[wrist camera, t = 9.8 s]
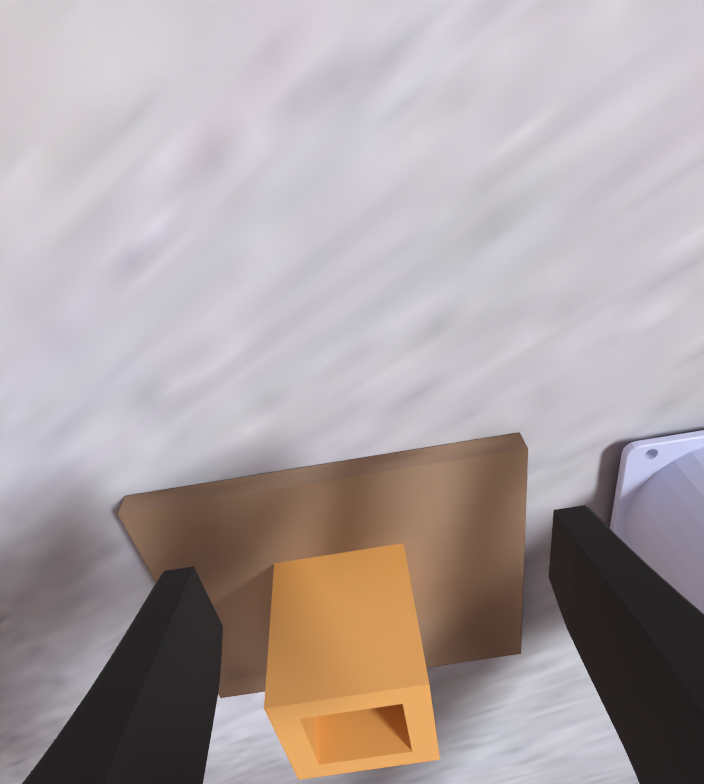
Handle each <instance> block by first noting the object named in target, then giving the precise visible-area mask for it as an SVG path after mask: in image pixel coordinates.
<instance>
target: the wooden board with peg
mask: <svg viewBox="0 0 704 784" xmlns="http://www.w3.org/2000/svg"><path fill="white" fill-rule="evenodd" d="M527 463H528V448H527V446H526V444H525V442H524V440H523V438H522V436H521V434H520V433H514V434H508V435H502V436H495V437H489V438H483V439H477V440H471V441H464V442H458V443H452V444H446V445H439V446H433V447H427V448H421V449H415V450H408V451H402V452H396V453H390V454H383V455H377V456H371V457H365V458H359V459H352V460H346V461H340V462H334V463H327V464H321V465H315V466H309V467H302V468H296V469H290V470H284V471H278V472H271V473H265V474H259V475H253V476H246V477H240V478H234V479H228V480H222V481H215V482H209V483H203V484H197V485H190V486H184V487H178V488H172V489H166V490H159V491H153V492H147V493H141V494H134V495H128V496H125V497H124V500H123V502H122V505H121V507H120V510H119V512H118V516H119V518H120V519H121V521H122V523H123V525H124V526H125V528H126V530H127V532H128V534H129V535H130V537H131V539H132V541H133V543H134V544H135V546H136V548H137V550H138V551H139V553H140V555H141V557H142V559H143V560H144V562H145V564H146V566H147V567H148V569H149V571H150V573H151V575H152V576H153V578H154V580H155V582H157V581H158V579H159V577H160V576H161V574H162V573H163V572H164V571H167V570H173V569H179V568H186V567H192V566H194V568H195V570H196V572H197V574H198V576H199V578H200V580H201V582H202V584H203V586H204V588H205V590H206V592H207V594H208V596H209V598H210V601H211V603H212V605H213V607H214V609H215V611H216V613H217V615H218V617H219V619H220V621H221V623H222V625H223V638H222V659H221V674H220V684H219V690H218V694H219V696H220V698H224V697H231V696H238V695H244V694H251V693H258V692H265V688H266V673H267V659H268V644H269V630H270V616H271V601H272V587H273V572H274V563H280V562H287V561H293V560H299V559H306V558H312V557H319V556H325V555H331V554H338V553H344V552H351V551H357V550H364V549H370V548H376V547H383V546H389V545H396V544H402V543H404V549H405V554H406V560H407V565H408V570H409V576H410V581H411V587H412V592H413V598H414V603H415V609H416V614H417V619H418V625H419V630H420V636H421V641H422V647H423V652H424V658H425V663H426V668H427V667H433V666H440V665H447V664H454V663H461V662H467V661H474V660H481V659H488V658H494V657H501V656H508V655H515V654H521V636H522V607H523V578H524V549H525V521H526V492H527Z"/></svg>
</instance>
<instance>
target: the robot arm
mask: <svg viewBox="0 0 704 784" xmlns="http://www.w3.org/2000/svg"><path fill="white" fill-rule="evenodd" d="M651 449H652V450H651ZM649 450H650V451H649ZM647 451H649V452H647ZM646 452H647V453H646ZM549 579H550V582H551V585H552V588H553V591H554V593H555V596H556V599H557V602H558V605H559V608H560V611H561V613H562V616H563V619H564V622H565V624H566V627H567V629H568V631H569V634H570V636H571V638H572V640H573V642H574V644H575V646H576V648H577V651H578V653H579V655H580V657H581V659H582V661H583V663H584V665H585V667H586V669H587V671H588V674H589V676H590V678H591V680H592V682H593V684H594V686H595V688H596V690H597V692H598V694H599V696H600V698H601V700H602V702H603V705H604V707H605V709H606V711H607V713H608V715H609V717H610V719H611V721H612V723H613V725H614V727H615V729H616V731H617V734H618V736H619V738H620V740H621V742H622V744H623V746H624V748H625V751H626V753H627V755H628V757H629V760H630V762H631V764H632V766H633V769H634V771H635V773H636V776H637V778H638V781H639V783H640V784H704V430H702V431H696V432H690V433H683V434H677V435H671V436H665V437H658V438H652V439H646V440H639V441H634V442H631V443H629V444H628V445H626V446H625V448H624V449H623V451H622V455H621V461H620V467H619V473H618V480H617V486H616V492H615V498H614V504H613V511H612V517H611V523H610V528H609V527H608V526H607V525H606V524H605V523H604V522H603V521H602V520H601V519H600V518H599V517H598V516H597V515H596V514H595V513H594V512H593V511H592V510H591V509H590V508H588V507H587V506H585V505H584V506H577V507H571V508H564V509H558V510H554V514H553V527H552V540H551V554H550V567H549ZM222 638H223V625H222V623H221V621H220V619H219V617H218V615H217V613H216V611H215V609H214V607H213V605H212V603H211V601H210V598H209V596H208V594H207V592H206V590H205V588H204V586H203V584H202V582H201V580H200V578H199V576H198V574H197V572H196V570H195V568H194V566H192V567H186V568H179V569H173V570H167V571H164V572H163V573H162V574H161V576H160V577H159V579H158V581H157V582H156V584H155V586H154V587H153V589H152V591H151V592H150V594H149V596H148V597H147V599H146V601H145V602H144V604H143V606H142V607H141V609H140V611H139V612H138V614H137V616H136V617H135V619H134V621H133V622H132V624H131V625H130V627H129V629H128V630H127V632H126V634H125V635H124V637H123V639H122V640H121V642H120V643H119V645H118V647H117V648H116V650H115V651H114V653H113V654H112V656H111V657H110V659H109V661H108V662H107V664H106V665H105V667H104V668H103V670H102V672H101V673H100V675H99V676H98V678H97V679H96V681H95V682H94V684H93V685H92V687H91V689H90V690H89V692H88V693H87V694H86V696H85V697H84V699H83V700H82V702H81V703H80V705H79V706H78V707H77V709H76V710H75V712H74V713H73V715H72V716H71V718H70V719H69V720H68V722H67V723H66V725H65V726H64V728H63V729H62V731H61V732H60V733H59V735H58V736H57V738H56V739H55V740H54V742H53V743H52V745H51V746H50V747H49V749H48V750H47V751H46V753H45V754H44V755H43V757H42V758H41V760H40V761H39V762H38V764H37V765H36V766H35V767H34V769H33V770H32V771H31V773H30V774H29V775H28V777H27V778H26V779H25V781H24V782H23V783H22V784H203V779H204V773H205V767H206V761H207V755H208V750H209V744H210V738H211V732H212V726H213V720H214V714H215V708H216V702H217V696H218V690H219V684H220V674H221V659H222Z"/></svg>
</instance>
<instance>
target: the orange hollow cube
mask: <svg viewBox="0 0 704 784" xmlns="http://www.w3.org/2000/svg"><path fill="white" fill-rule="evenodd" d="M264 709H265V712H266V714H267V716H268V718H269V720H270V722H271V724H272V726H273V728H274V730H275V732H276V734H277V736H278V738H279V740H280V742H281V744H282V747H283V749H284V751H285V753H286V755H287V757H288V759H289V761H290V763H291V765H292V767H293V769H294V771H295V773H296V775H297V777H298V779H299V780H301V779H308V778H315V777H322V776H329V775H336V774H343V773H350V772H357V771H364V770H371V769H378V768H385V767H392V766H399V765H406V764H413V763H420V762H427V761H434V760H440V755H439V748H438V741H437V734H436V727H435V720H434V713H433V706H432V699H431V692H430V685H429V679H428V674H427V668H426V663H425V658H424V652H423V647H422V641H421V636H420V630H419V625H418V619H417V614H416V609H415V603H414V598H413V592H412V587H411V581H410V576H409V570H408V565H407V560H406V554H405V549H404V543H402V544H396V545H389V546H383V547H376V548H370V549H364V550H357V551H351V552H344V553H338V554H331V555H325V556H319V557H312V558H306V559H299V560H293V561H287V562H280V563H274V572H273V587H272V601H271V616H270V630H269V644H268V659H267V673H266V688H265V702H264Z"/></svg>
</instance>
